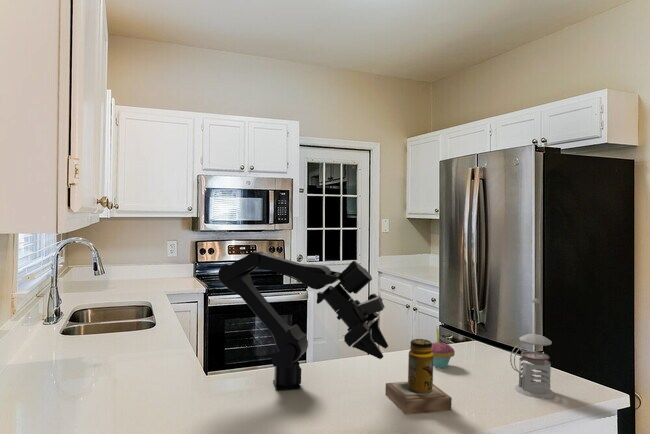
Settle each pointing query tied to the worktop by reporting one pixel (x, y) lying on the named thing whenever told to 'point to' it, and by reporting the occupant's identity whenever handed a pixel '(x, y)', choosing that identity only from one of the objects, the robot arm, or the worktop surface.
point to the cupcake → (441, 353)
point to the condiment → (419, 369)
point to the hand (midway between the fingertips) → (384, 352)
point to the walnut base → (418, 400)
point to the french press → (534, 367)
